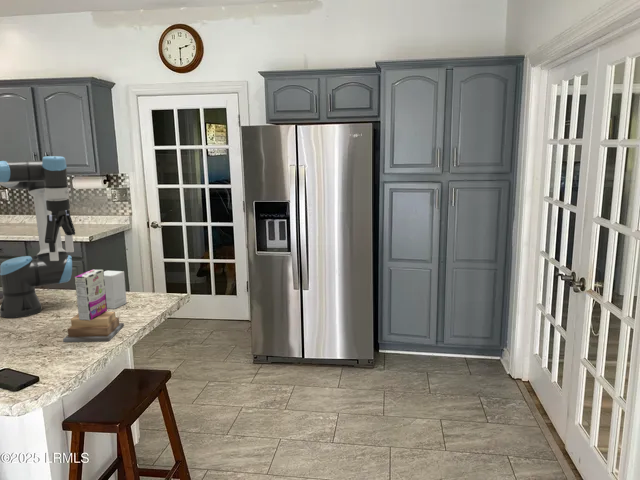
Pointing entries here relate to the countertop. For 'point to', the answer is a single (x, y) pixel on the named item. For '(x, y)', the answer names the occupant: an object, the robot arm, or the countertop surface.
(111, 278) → the supplement box
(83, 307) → the candy bar box
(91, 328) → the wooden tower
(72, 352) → the countertop surface
